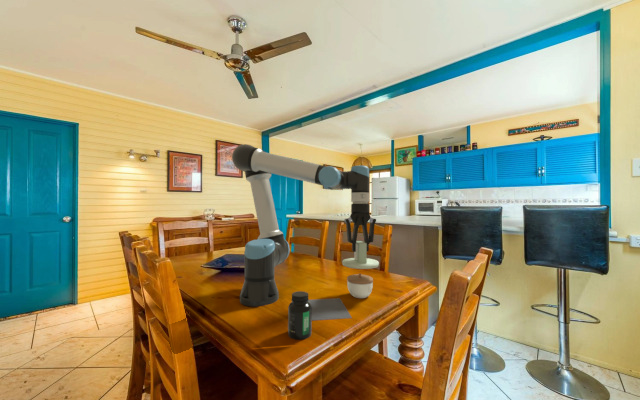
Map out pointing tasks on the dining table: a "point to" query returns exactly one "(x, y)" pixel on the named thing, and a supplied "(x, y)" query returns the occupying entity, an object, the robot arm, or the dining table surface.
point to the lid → (361, 259)
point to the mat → (328, 309)
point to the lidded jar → (360, 285)
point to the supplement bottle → (299, 316)
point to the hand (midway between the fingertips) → (360, 259)
